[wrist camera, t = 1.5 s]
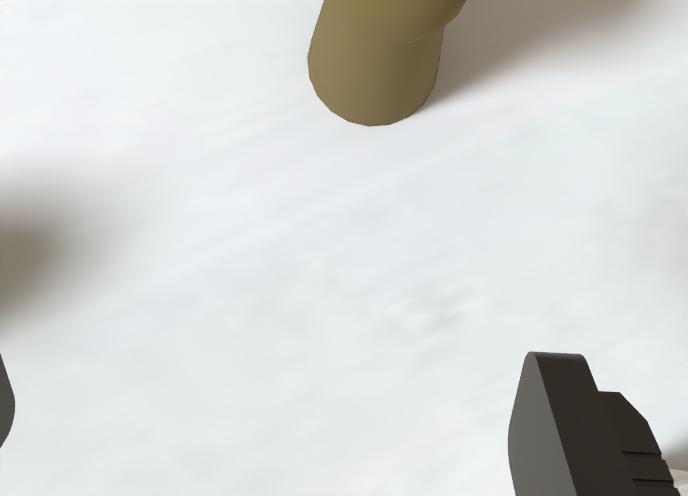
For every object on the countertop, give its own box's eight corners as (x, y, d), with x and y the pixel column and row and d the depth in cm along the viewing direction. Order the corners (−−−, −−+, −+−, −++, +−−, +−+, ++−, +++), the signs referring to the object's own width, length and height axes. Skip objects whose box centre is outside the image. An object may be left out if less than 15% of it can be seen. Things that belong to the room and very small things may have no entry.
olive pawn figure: (382, 153, 30) (419, 70, 19) (280, 69, 30) (258, -61, 19) (464, 54, 31) (546, -81, 20) (363, -28, 31) (389, -208, 20)
